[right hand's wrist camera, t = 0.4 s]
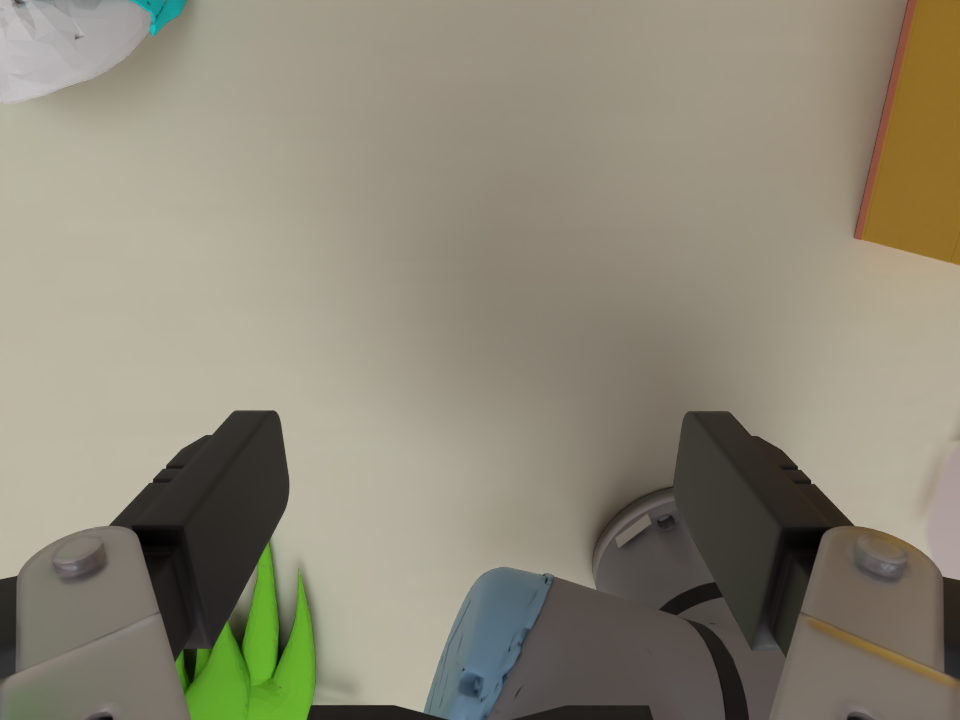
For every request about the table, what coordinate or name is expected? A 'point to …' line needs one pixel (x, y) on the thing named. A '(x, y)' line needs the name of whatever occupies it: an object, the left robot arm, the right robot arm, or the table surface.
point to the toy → (255, 663)
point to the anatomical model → (70, 40)
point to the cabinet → (919, 140)
